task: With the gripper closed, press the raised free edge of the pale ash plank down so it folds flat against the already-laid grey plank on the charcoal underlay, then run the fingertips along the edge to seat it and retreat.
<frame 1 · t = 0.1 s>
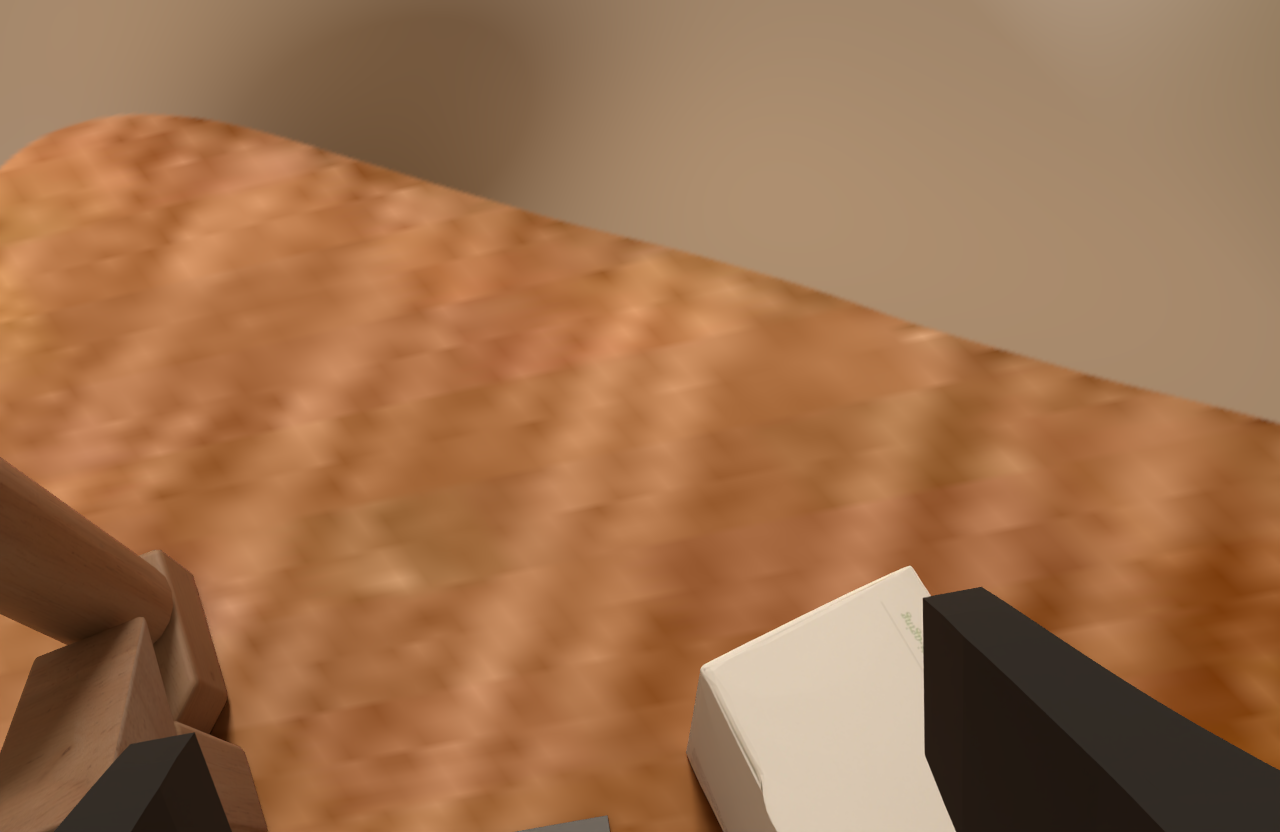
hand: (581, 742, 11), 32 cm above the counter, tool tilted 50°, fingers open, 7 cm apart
skincare box: (800, 811, 41), on the counter
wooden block: (187, 719, 42), on the counter
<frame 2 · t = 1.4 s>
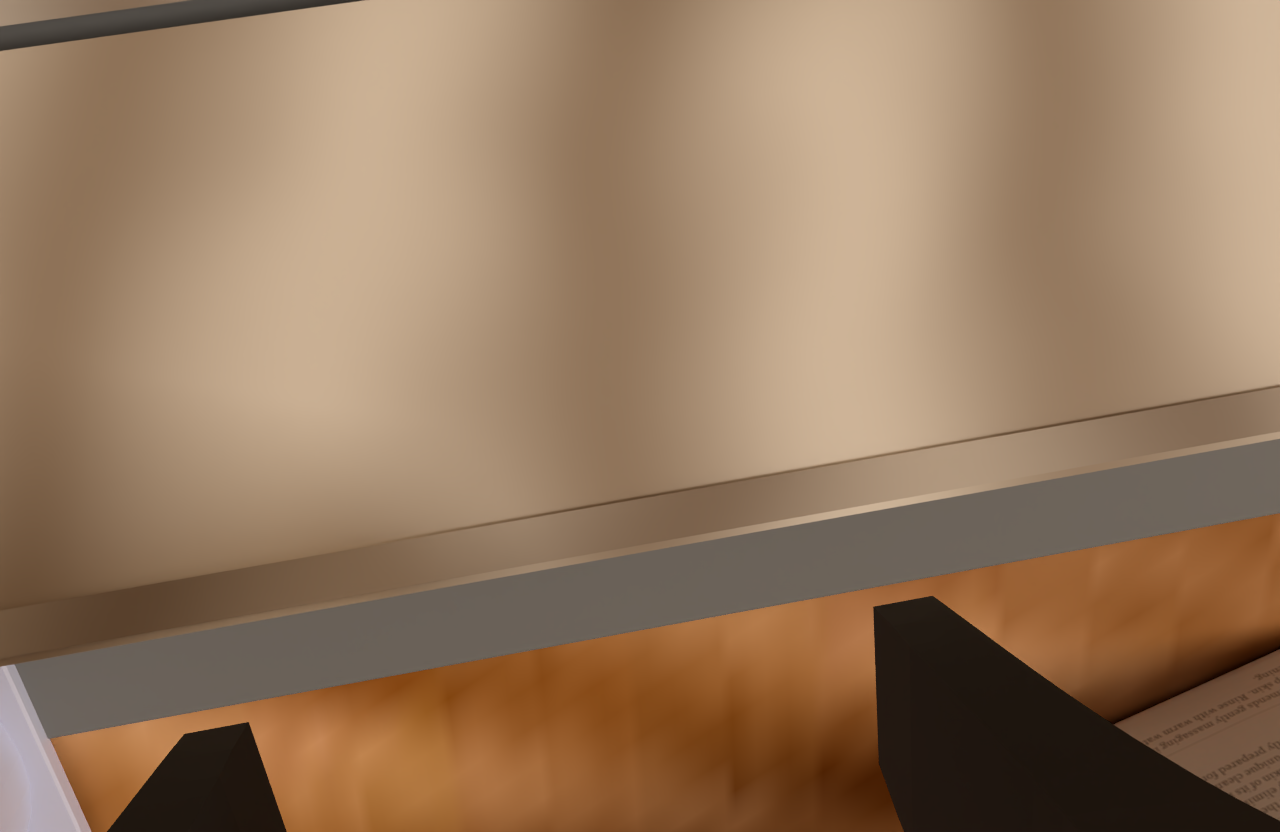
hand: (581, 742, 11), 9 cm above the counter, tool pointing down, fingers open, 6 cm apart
skincare box: (1213, 761, 26), on the counter
underlay mat: (604, 29, 17), on the counter
loose plank: (653, 257, 16), point 3 cm above the counter, hinge at 30.0°
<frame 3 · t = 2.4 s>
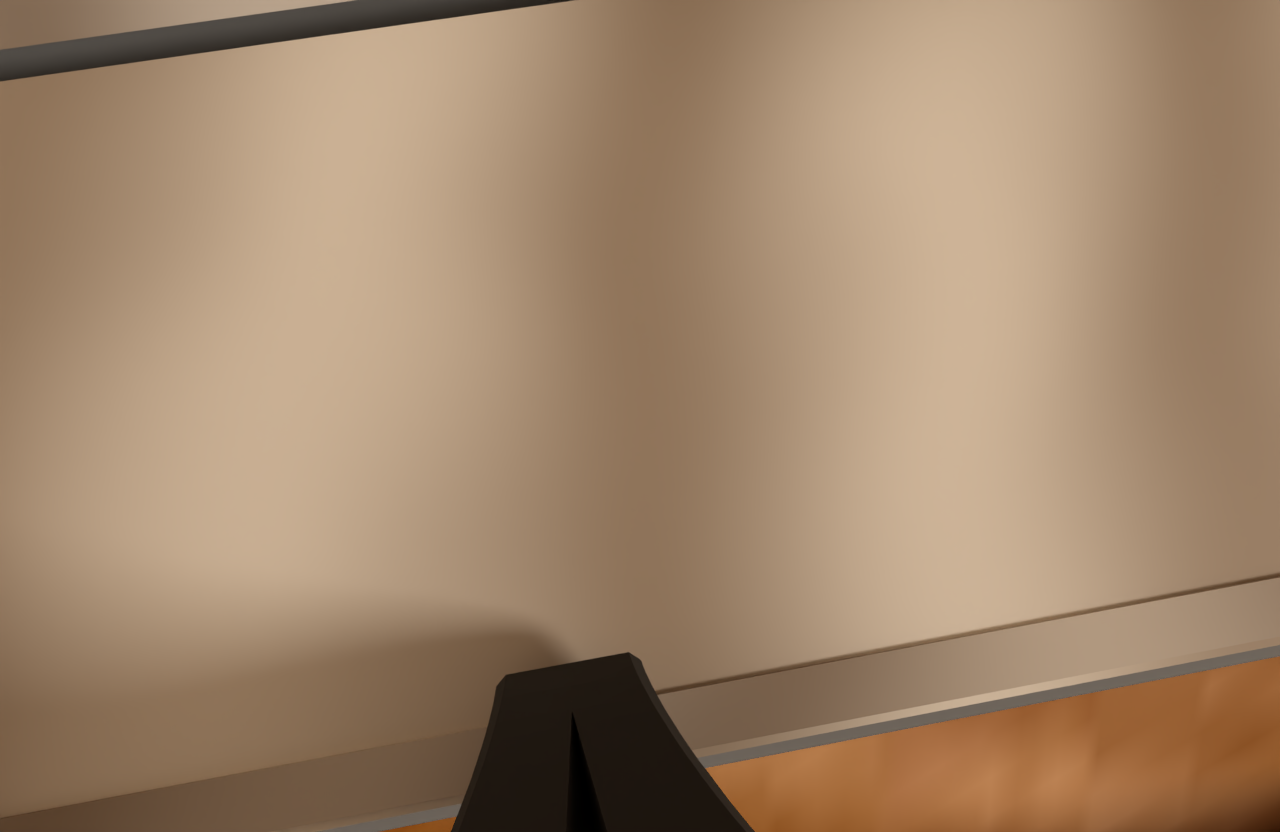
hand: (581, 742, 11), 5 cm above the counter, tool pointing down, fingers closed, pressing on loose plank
underlay mat: (635, 67, 14), on the counter
loose plank: (703, 364, 12), point 3 cm above the counter, hinge at 30.0°, touching gripper
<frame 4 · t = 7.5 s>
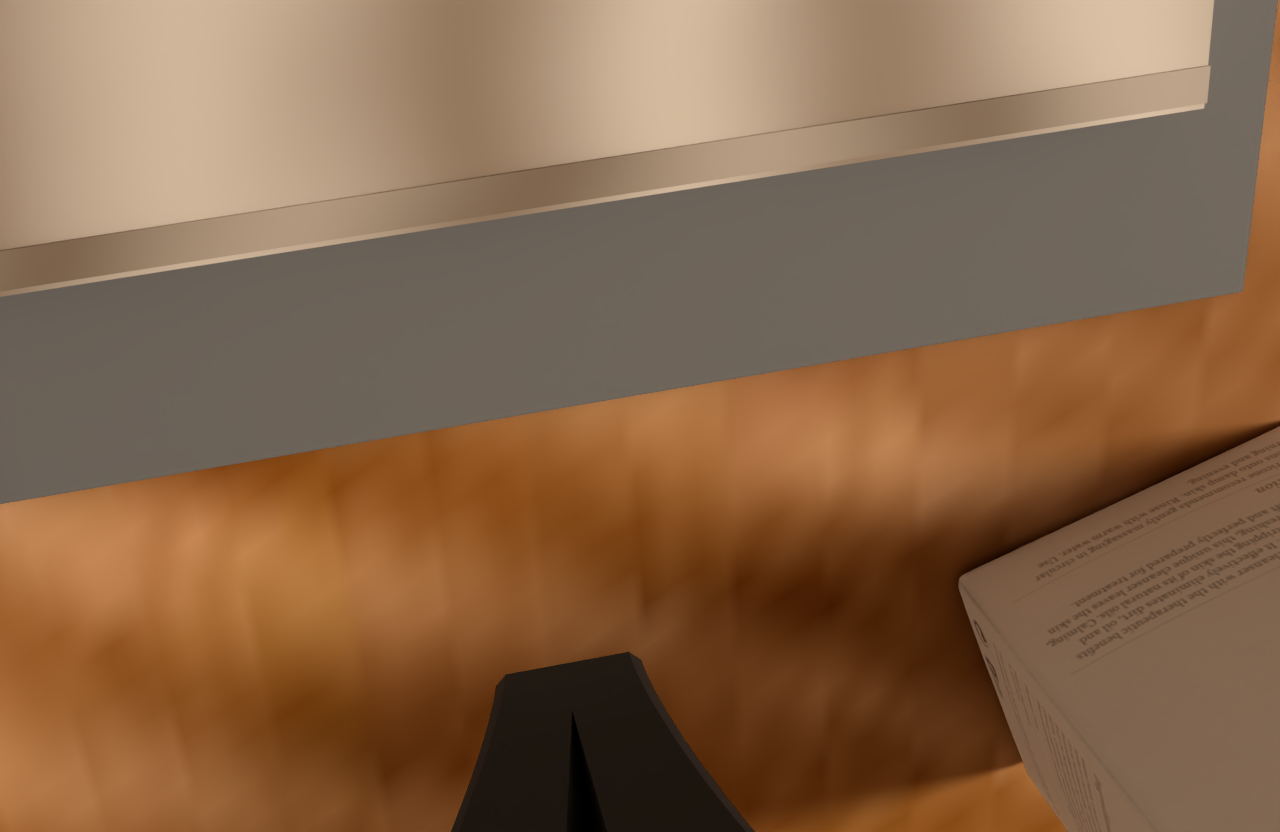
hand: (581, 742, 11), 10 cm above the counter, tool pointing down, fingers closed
skincare box: (1150, 586, 25), on the counter
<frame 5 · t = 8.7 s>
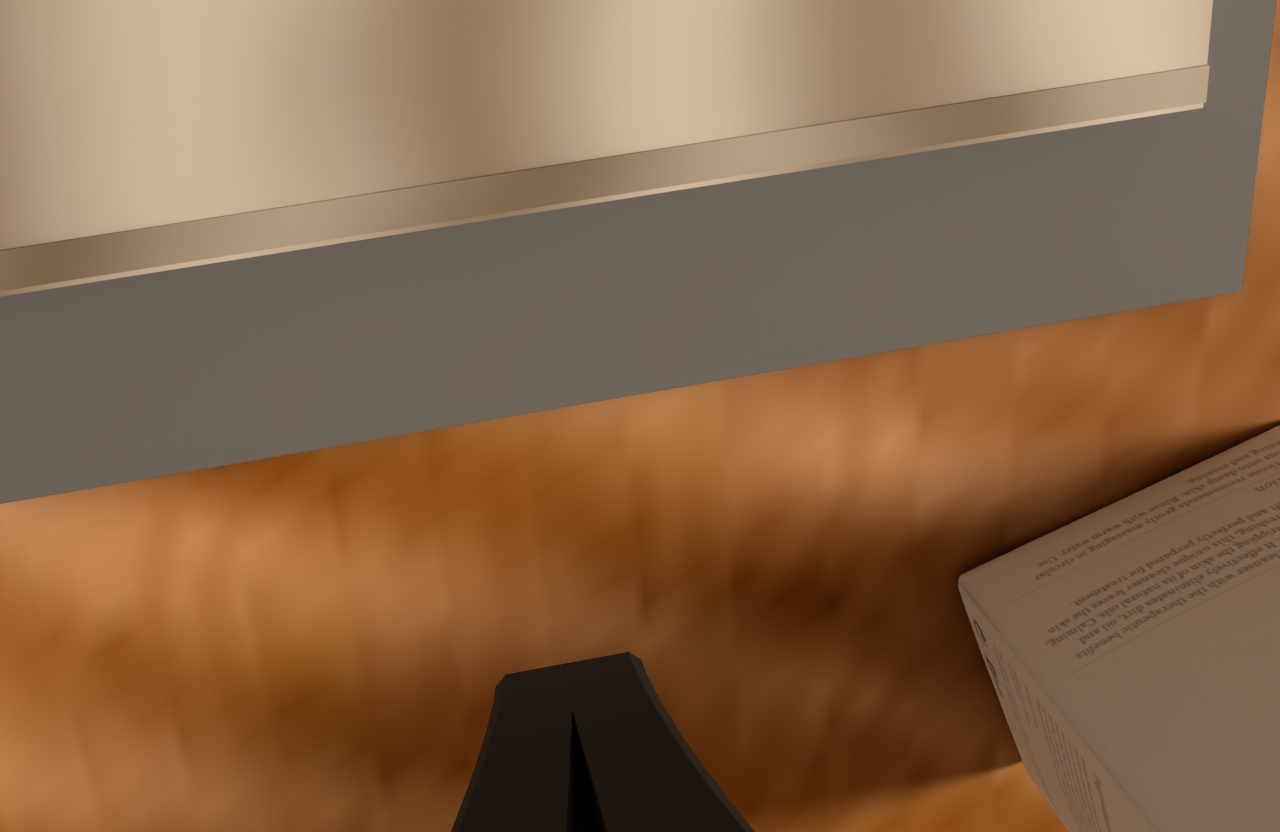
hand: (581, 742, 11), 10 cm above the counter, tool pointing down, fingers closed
skincare box: (1149, 585, 25), on the counter
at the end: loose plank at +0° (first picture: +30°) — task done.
